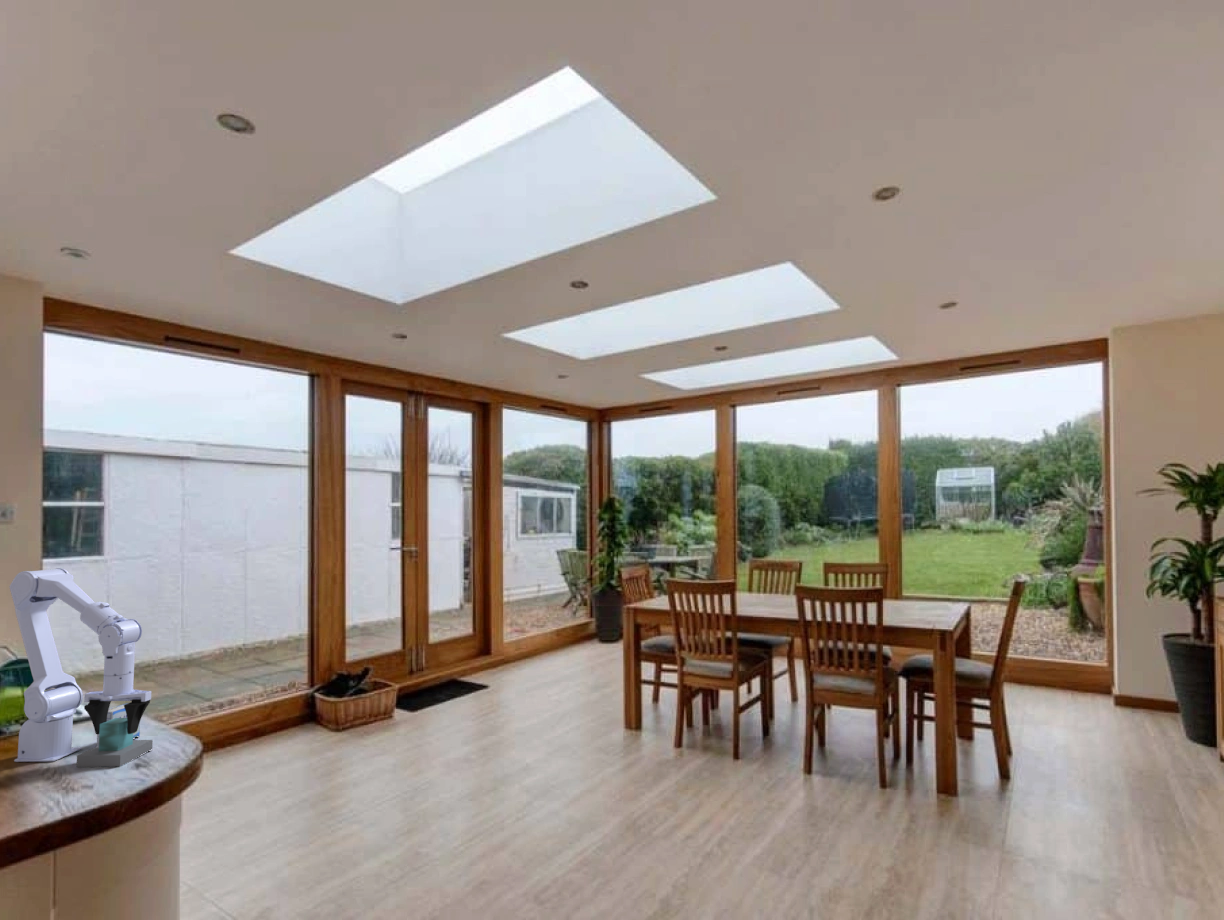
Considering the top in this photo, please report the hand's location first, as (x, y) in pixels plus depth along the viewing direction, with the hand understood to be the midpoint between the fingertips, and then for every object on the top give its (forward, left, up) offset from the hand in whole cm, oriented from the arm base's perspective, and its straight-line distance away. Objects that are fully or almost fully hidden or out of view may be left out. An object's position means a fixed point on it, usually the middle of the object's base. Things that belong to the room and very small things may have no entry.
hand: (116, 732), depth 153 cm
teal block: (0, 0, -3) cm, 3 cm away
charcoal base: (0, 0, -6) cm, 6 cm away
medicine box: (-8, +11, -6) cm, 15 cm away
